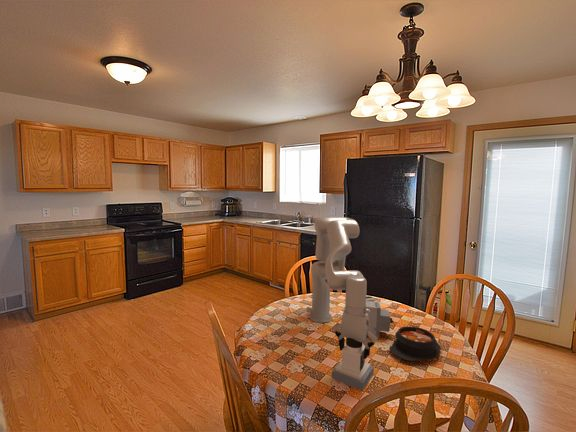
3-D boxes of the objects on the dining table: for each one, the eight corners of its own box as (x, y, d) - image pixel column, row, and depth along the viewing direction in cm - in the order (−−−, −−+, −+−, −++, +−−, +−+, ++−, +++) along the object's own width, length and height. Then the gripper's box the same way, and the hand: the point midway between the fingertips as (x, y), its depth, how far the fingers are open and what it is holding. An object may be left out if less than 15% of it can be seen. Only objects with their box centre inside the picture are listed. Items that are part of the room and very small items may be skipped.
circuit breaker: (392, 339, 142) (394, 309, 141) (361, 336, 145) (363, 306, 144) (390, 332, 150) (392, 303, 148) (361, 329, 153) (362, 300, 151)
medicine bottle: (360, 373, 109) (361, 342, 108) (341, 368, 113) (342, 337, 112) (364, 363, 116) (366, 333, 115) (346, 358, 119) (347, 329, 118)
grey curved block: (366, 305, 183) (371, 292, 180) (372, 310, 180) (377, 297, 176) (346, 311, 174) (351, 297, 170) (352, 316, 171) (357, 302, 167)
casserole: (414, 335, 146) (415, 319, 146) (451, 354, 131) (453, 335, 130) (378, 350, 133) (379, 331, 132) (415, 372, 118) (417, 351, 117)
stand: (331, 378, 113) (332, 368, 112) (344, 363, 123) (344, 353, 122) (362, 390, 106) (363, 380, 106) (373, 373, 116) (374, 363, 116)
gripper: (381, 311, 110) (379, 355, 112) (338, 301, 120) (337, 341, 121) (375, 318, 104) (373, 365, 106) (329, 307, 114) (328, 350, 115)
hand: (353, 352), depth 114 cm, fingers open, 9 cm apart
